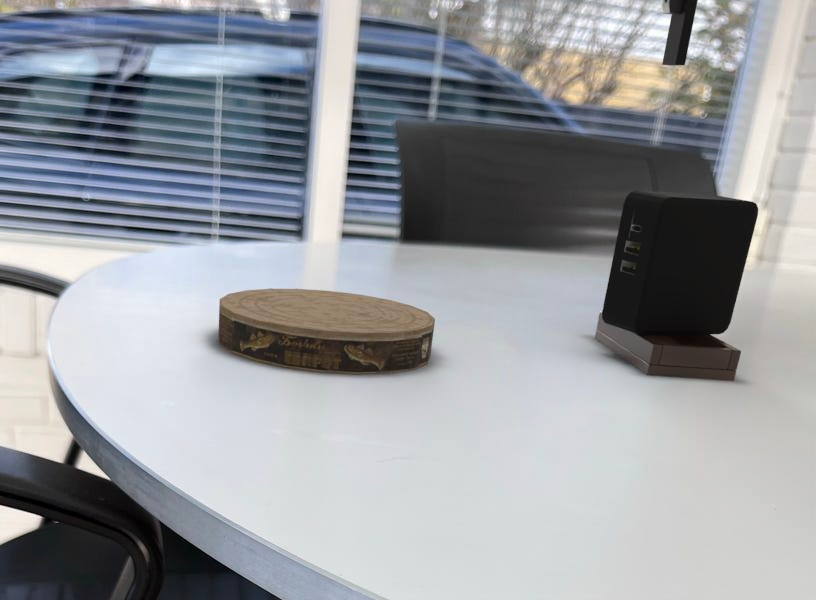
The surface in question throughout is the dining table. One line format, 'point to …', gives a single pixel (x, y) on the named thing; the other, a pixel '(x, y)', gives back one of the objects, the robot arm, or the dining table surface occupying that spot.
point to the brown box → (672, 353)
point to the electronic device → (678, 263)
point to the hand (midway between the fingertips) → (755, 73)
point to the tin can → (325, 331)
